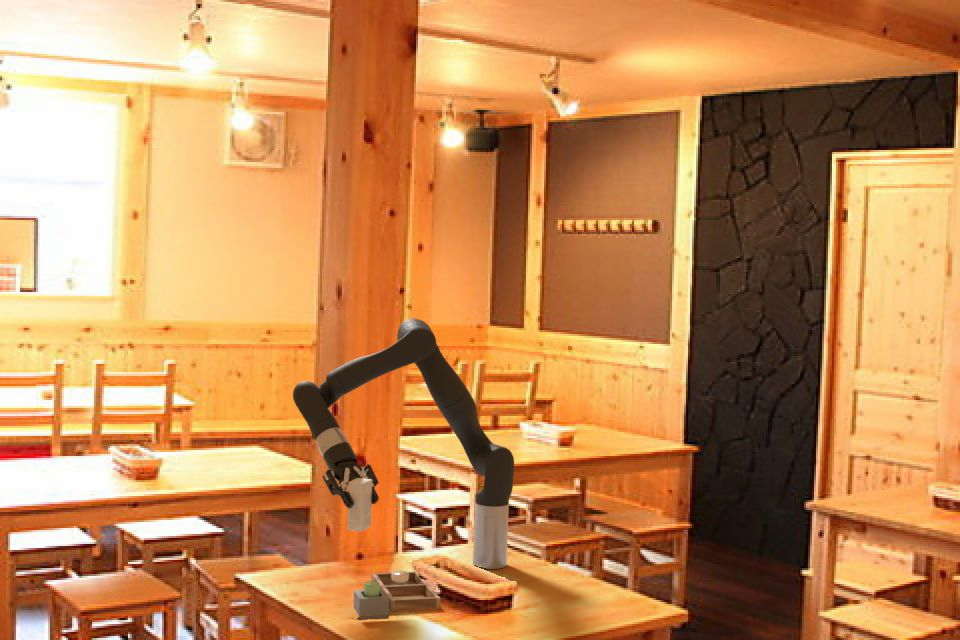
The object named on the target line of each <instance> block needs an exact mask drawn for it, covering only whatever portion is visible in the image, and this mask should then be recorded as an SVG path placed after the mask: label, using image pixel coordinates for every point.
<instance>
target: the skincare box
mask: <svg viewBox="0 0 960 640" xmlns="http://www.w3.org/2000/svg"><path fill="white" fill-rule="evenodd" d="M372 481H373V480H372V479H365V478H356V479H354V480H352V481H350V482H349V483H348V486H347V491H348V492H349V494H350V496H351V498H352V500H353V502H354V505H353V506H352V507H351V508H347V531H351V532H362V533H363V532H364V531H366V530H367V529H368V528H370V527H371V526H372V508H373V507H372V506H373V504H372Z"/></svg>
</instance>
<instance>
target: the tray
mask: <svg viewBox="0 0 960 640" xmlns="http://www.w3.org/2000/svg"><path fill="white" fill-rule="evenodd" d="M407 572H408V573H409V585H391V573H392V572H378V573H377V572H376V573H375V572H374V573H371V581H373V582H378V583H380V588H379V589H384V591H385V592H386V594H387V595H388V596H389V612H401V611H418V610H419V611H421V610H436V609H437V610H438V609H439V610H440V609H441V597H440V596H439V595H438V594H437V592H436V591H435V590H434V588H432V587H431V585H430V584H429V583H428V582H427V580H426V579H425V578H424V579H425V580H424V579H421V578H420V577H419V575H418V574H417V572H416V571H407Z"/></svg>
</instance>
